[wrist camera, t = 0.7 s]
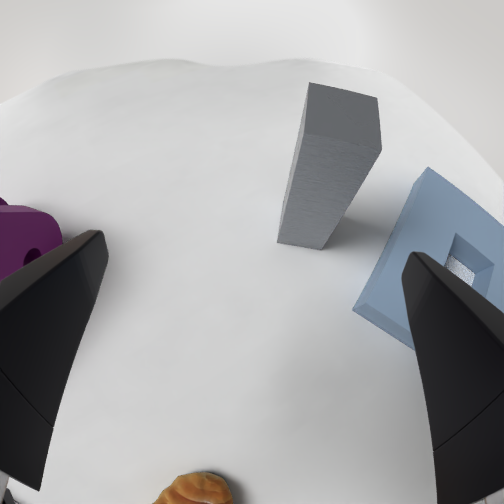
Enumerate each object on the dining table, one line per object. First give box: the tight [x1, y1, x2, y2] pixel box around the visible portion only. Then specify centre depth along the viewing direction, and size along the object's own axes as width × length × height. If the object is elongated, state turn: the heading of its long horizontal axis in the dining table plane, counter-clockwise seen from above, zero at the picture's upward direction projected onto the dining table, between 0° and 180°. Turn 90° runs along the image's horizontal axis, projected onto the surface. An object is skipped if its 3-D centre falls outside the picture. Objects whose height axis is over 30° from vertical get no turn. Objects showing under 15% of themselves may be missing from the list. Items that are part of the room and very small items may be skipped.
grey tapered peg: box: [277, 82, 382, 250], centre depth 19 cm, size 4×4×13 cm
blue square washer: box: [352, 167, 504, 350], centre depth 23 cm, size 14×14×3 cm
